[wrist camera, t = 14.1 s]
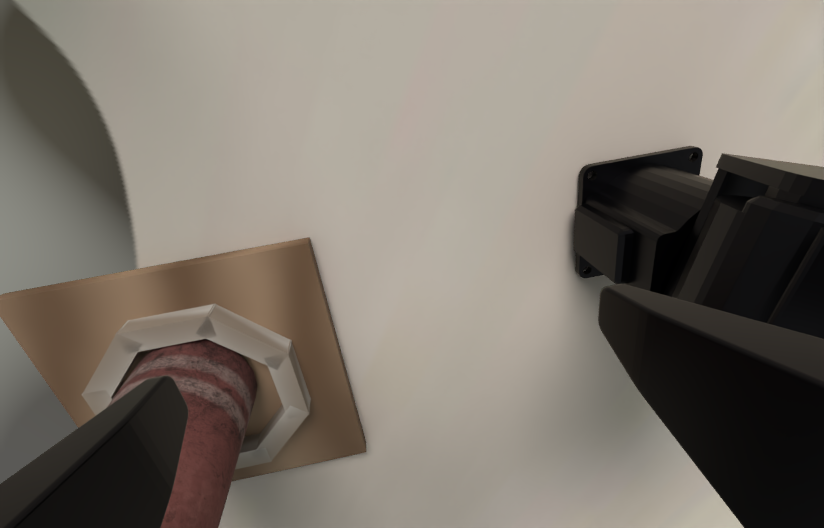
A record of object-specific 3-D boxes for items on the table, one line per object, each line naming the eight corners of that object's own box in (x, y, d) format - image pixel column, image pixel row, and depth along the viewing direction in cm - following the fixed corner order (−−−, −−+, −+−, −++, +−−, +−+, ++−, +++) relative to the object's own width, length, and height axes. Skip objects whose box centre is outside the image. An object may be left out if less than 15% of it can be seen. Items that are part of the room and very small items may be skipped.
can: (186, 436, 24) (8, 832, 12) (114, 358, 21) (-224, 770, 9) (281, 399, 24) (205, 762, 11) (221, 316, 21) (32, 674, 9)
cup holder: (309, 237, 21) (305, 253, 19) (365, 442, 27) (366, 468, 26) (2, 293, 20) (-32, 315, 18) (137, 491, 26) (122, 521, 25)
